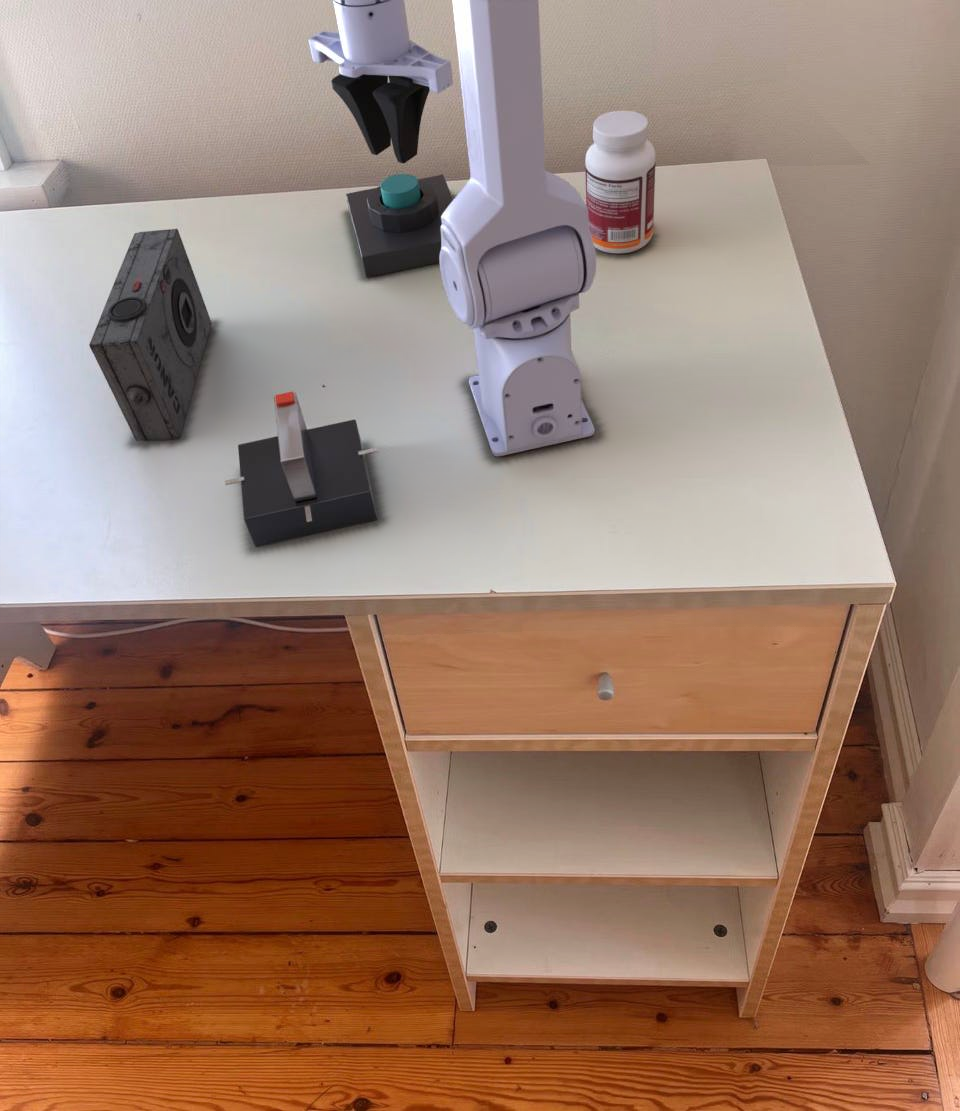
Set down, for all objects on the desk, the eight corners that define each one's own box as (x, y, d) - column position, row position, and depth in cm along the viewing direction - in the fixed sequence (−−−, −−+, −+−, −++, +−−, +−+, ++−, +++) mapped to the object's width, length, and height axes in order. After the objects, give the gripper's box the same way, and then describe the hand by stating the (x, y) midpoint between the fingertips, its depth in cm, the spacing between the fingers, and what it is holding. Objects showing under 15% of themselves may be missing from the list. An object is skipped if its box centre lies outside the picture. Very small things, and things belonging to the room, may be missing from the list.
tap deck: (396, 532, 69) (388, 502, 67) (241, 567, 69) (228, 538, 66) (373, 431, 77) (366, 400, 74) (233, 461, 76) (221, 432, 74)
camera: (180, 448, 78) (135, 347, 70) (132, 451, 78) (82, 351, 70) (214, 324, 88) (178, 224, 81) (172, 327, 88) (132, 229, 81)
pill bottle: (619, 212, 94) (621, 98, 86) (666, 236, 91) (673, 119, 82) (572, 239, 92) (569, 125, 83) (619, 264, 88) (621, 147, 80)
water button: (423, 206, 91) (421, 188, 90) (386, 213, 91) (383, 196, 90) (417, 187, 94) (414, 170, 92) (380, 194, 93) (377, 177, 92)
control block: (470, 256, 91) (465, 217, 88) (366, 277, 91) (358, 239, 88) (445, 194, 99) (440, 156, 96) (349, 213, 99) (341, 176, 96)
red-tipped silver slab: (317, 497, 68) (303, 453, 65) (294, 502, 68) (279, 458, 65) (308, 432, 73) (294, 388, 69) (287, 437, 73) (272, 393, 69)
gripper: (270, -4, 80) (307, 155, 90) (403, 26, 73) (427, 193, 84) (328, -34, 83) (358, 122, 93) (460, -8, 77) (477, 157, 87)
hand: (394, 153), depth 89 cm, fingers open, 3 cm apart
